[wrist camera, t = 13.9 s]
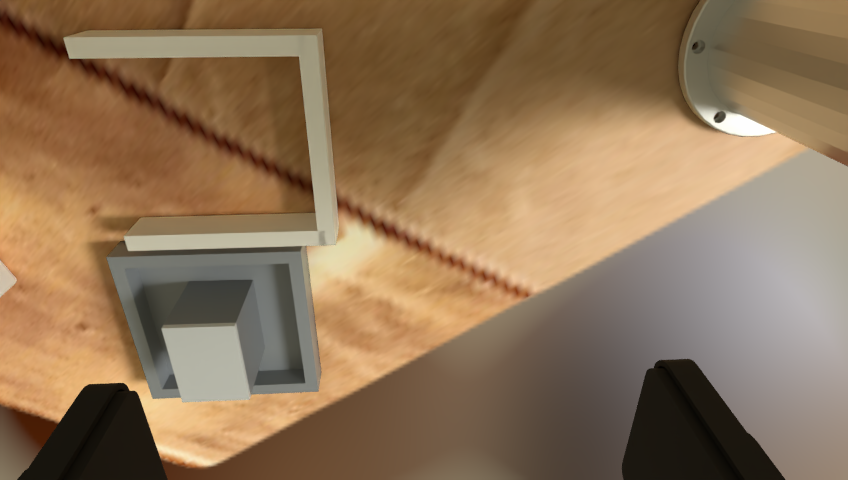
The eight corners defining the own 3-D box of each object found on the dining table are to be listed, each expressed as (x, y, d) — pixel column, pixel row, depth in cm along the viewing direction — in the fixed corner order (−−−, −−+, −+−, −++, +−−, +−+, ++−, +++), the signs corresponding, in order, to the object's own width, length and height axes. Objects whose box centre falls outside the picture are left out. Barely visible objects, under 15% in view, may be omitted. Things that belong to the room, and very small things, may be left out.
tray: (305, 236, 42) (300, 251, 40) (321, 372, 49) (318, 391, 47) (120, 241, 41) (106, 257, 39) (163, 378, 48) (152, 398, 46)
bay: (322, 28, 35) (316, 35, 32) (338, 226, 42) (335, 244, 39) (87, 30, 34) (62, 37, 31) (144, 231, 41) (128, 251, 38)
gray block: (253, 279, 43) (234, 326, 38) (265, 348, 46) (249, 399, 41) (189, 281, 43) (161, 328, 37) (205, 350, 46) (182, 402, 41)
